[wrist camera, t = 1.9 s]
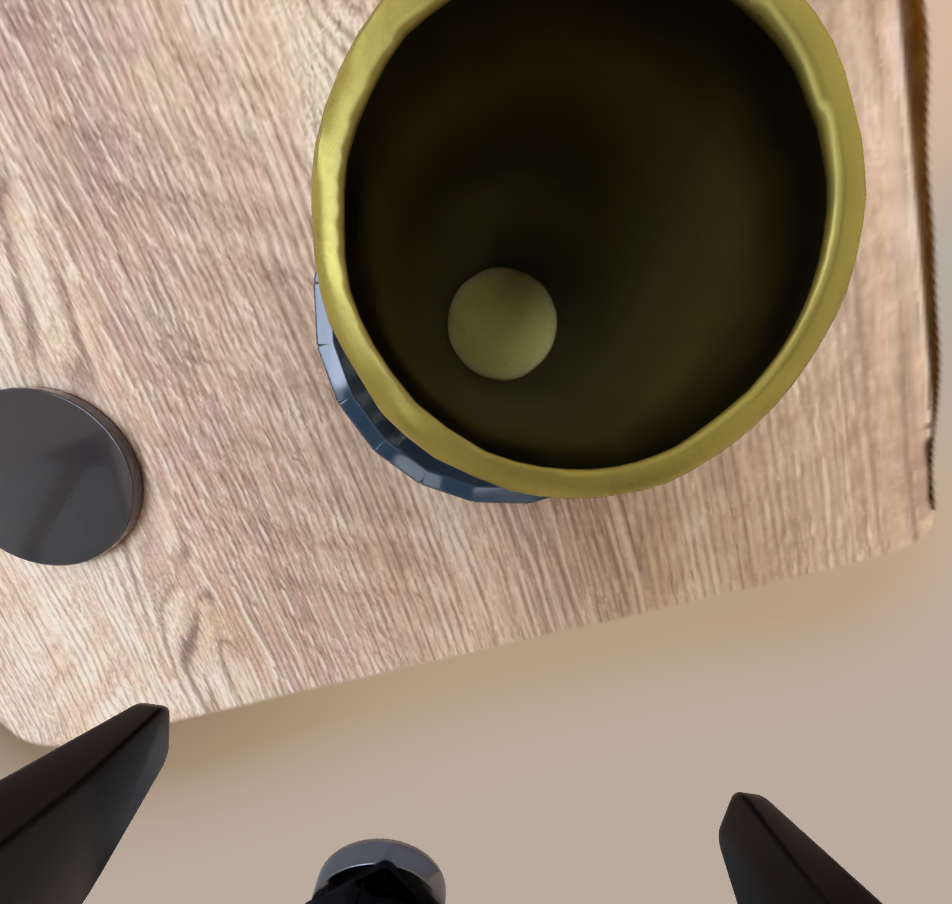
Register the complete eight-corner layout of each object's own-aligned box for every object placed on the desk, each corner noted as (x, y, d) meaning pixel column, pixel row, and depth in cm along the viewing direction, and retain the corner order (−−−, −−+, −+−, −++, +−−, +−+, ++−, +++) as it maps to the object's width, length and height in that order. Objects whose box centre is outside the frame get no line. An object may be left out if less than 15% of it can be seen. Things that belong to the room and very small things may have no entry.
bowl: (701, 365, 19) (770, 369, 14) (464, 520, 20) (460, 566, 16) (544, 91, 16) (570, -5, 12) (292, 287, 18) (233, 266, 14)
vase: (428, 241, 17) (237, -220, 3) (584, 251, 17) (1019, -156, 3) (423, 397, 19) (268, 526, 5) (567, 406, 19) (835, 558, 5)
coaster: (180, 498, 20) (171, 503, 19) (55, 590, 21) (43, 597, 20) (48, 348, 18) (35, 348, 18) (-80, 454, 19) (-96, 457, 19)
